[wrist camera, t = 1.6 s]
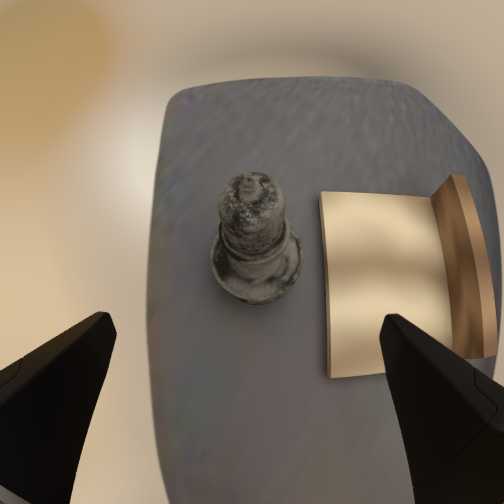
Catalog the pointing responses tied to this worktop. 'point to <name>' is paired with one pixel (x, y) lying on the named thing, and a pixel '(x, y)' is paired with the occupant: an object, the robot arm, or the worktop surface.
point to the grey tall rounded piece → (255, 240)
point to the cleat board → (405, 273)
